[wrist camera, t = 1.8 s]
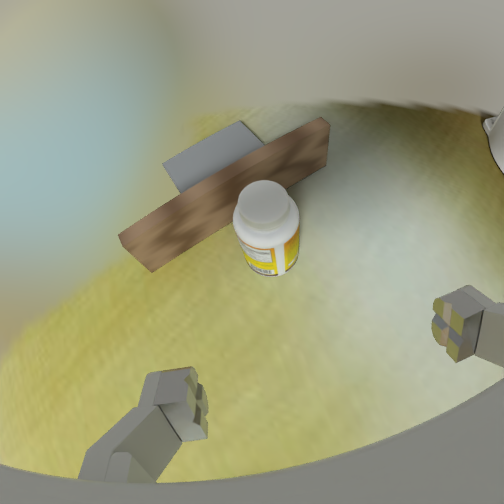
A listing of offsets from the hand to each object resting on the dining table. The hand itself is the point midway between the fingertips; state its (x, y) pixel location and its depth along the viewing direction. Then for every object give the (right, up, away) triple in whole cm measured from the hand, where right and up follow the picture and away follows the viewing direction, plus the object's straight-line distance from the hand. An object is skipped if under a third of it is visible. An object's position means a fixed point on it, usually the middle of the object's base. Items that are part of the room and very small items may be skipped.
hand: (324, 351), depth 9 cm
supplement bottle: (0, +3, +24) cm, 24 cm away
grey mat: (-6, +14, +29) cm, 33 cm away
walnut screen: (-4, +8, +26) cm, 28 cm away
